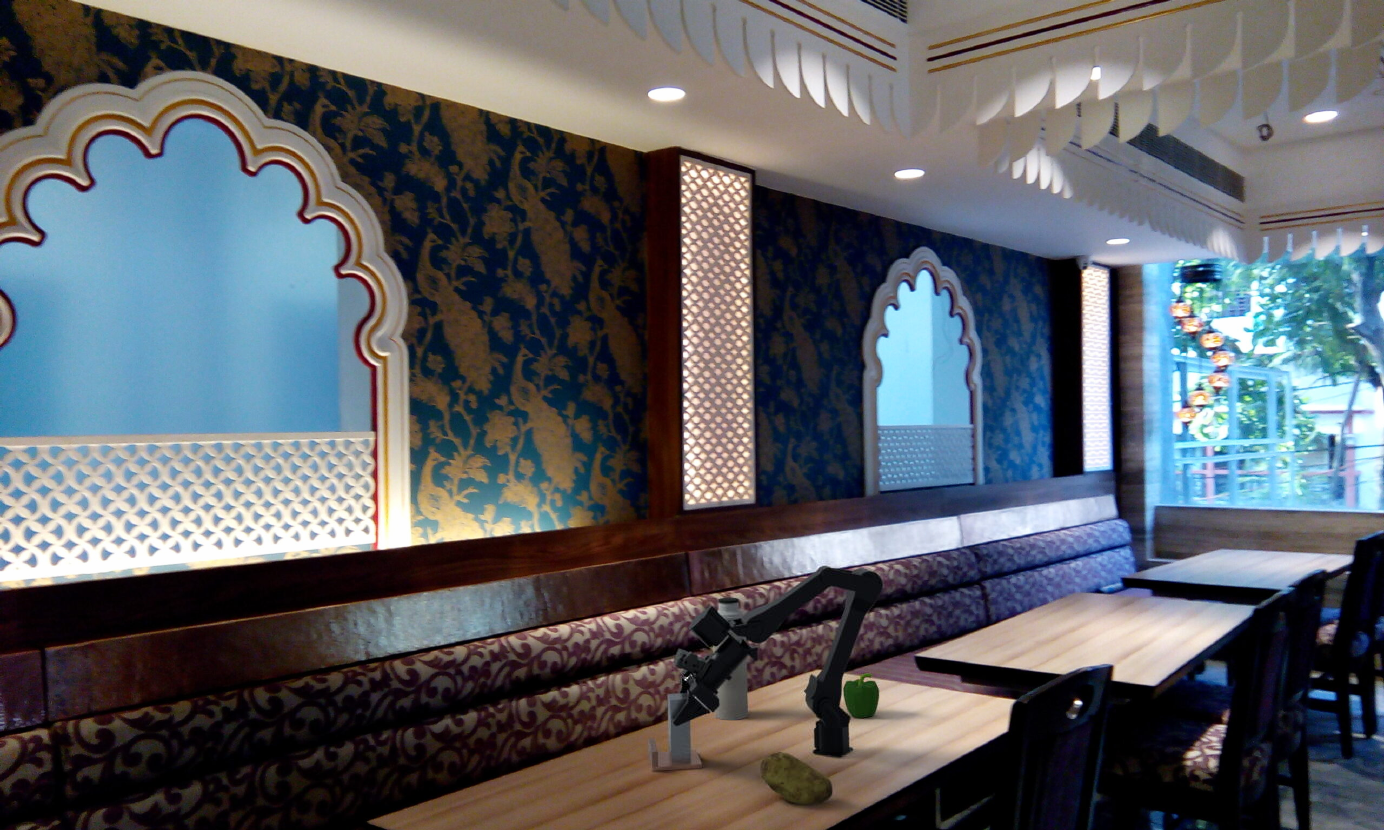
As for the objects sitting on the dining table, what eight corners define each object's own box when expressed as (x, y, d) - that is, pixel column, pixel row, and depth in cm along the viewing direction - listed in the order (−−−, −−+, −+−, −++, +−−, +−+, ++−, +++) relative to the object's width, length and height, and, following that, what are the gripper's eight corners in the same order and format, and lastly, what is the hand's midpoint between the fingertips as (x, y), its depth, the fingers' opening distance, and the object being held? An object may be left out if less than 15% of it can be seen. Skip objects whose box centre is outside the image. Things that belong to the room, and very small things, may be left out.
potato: (810, 814, 177) (809, 768, 177) (753, 798, 186) (752, 754, 186) (838, 801, 183) (836, 756, 183) (782, 786, 192) (780, 743, 192)
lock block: (688, 753, 211) (686, 692, 211) (691, 760, 206) (689, 698, 207) (669, 754, 211) (667, 693, 211) (671, 761, 206) (670, 699, 206)
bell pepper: (838, 717, 239) (836, 674, 239) (851, 709, 246) (850, 668, 246) (871, 722, 234) (870, 678, 235) (884, 713, 241) (883, 671, 242)
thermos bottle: (722, 709, 248) (719, 595, 249) (752, 712, 245) (749, 596, 246) (709, 718, 241) (706, 599, 242) (740, 721, 238) (737, 601, 239)
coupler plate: (695, 753, 214) (695, 734, 214) (702, 767, 204) (701, 748, 204) (648, 755, 213) (648, 737, 213) (652, 770, 203) (652, 751, 203)
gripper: (690, 627, 219) (640, 681, 217) (701, 644, 200) (647, 703, 199) (727, 662, 220) (678, 716, 218) (742, 682, 201) (688, 741, 199)
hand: (672, 718), depth 208 cm, fingers open, 9 cm apart
